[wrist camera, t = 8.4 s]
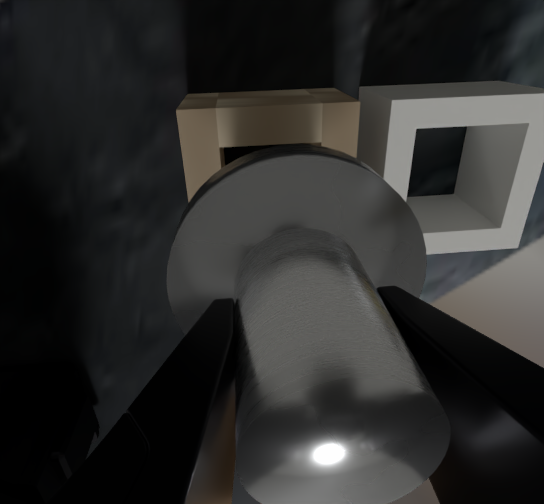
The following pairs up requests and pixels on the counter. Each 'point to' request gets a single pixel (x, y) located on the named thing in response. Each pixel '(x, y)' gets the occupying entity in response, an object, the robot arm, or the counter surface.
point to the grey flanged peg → (313, 324)
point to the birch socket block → (261, 125)
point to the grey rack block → (474, 160)
